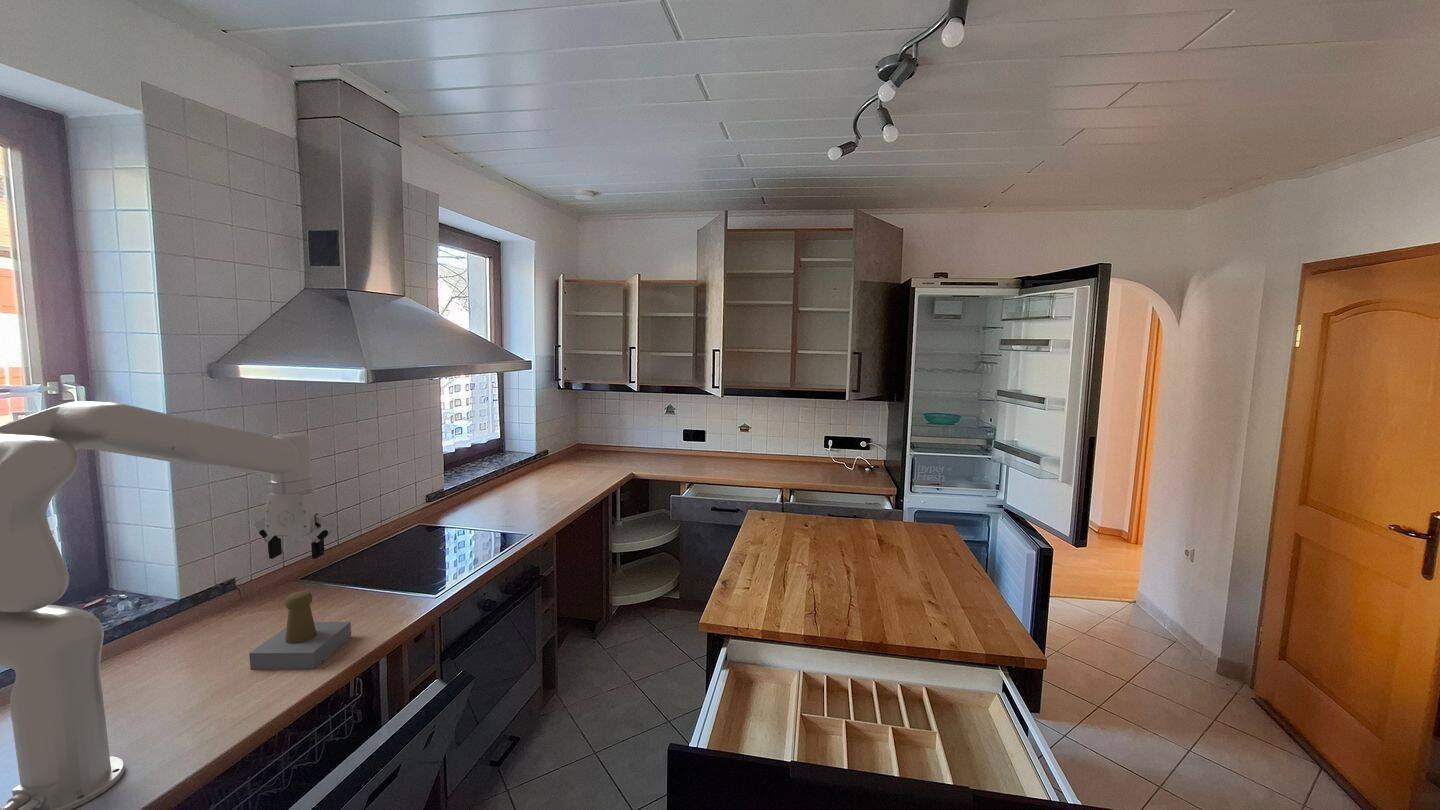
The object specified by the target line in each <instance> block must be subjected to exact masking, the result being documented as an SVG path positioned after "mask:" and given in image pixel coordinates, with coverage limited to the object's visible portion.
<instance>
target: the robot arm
mask: <svg viewBox="0 0 1440 810" xmlns="http://www.w3.org/2000/svg"><path fill="white" fill-rule="evenodd" d="M78 450H90V451H91V450H92V451H101V452H106V453H114V454H121V455H126V456H132V457H140V458H146V459H151V460H158V461H163V462H168V463H175V464H182V465H183V464H184V465H193V466H211V467H213V466H214V467H215V466H216V467H228V468H229V469H231V470H233V471H236V472H239V473H240V472H241V473H250V474H251V473H253V474H264V475H265V474H266V475H270V480H269V481H267V484H266V485H267V487H268V488H271V492H269V493H268V495H267V498H266V505H265V512H264V513H265V515H264V518H263V519H261V520H259V521H256V522H255V523H254V527H255V528H256V529H257V531H258V534H259V535H260V536H261V537H262V538H263V539H264V542H265V543H267V550H268V559H269V560H270V559H271V560H272V559H275V558H277V557H279V556H281V555H282V554H283V547H282V539H281V537H306V536H308V537H309V538H310V539H311V540H312V541H313V542H311V558H312V560H316V559H318V558H319V557H321V556H324V554H325V539H326V538H327V537H328V536H329V535H330V534H331V532H332V530H333V528H334V526H335V522H334V520H331V519H329V518H327V517H325V516H322V515H321V514H322V513H321V506H320V501H319V498H318V494H317V492H316V489H313V485H314V484H313V471H312V456H311V454H312V453H311V452H312V451H311V440H310V437H309V436H308V434H306V433H302V432H289V433H288V432H287V433H278V434H275V435H272V436H270V435H266V434H262V433H257V432H251V431H246V430H243V429H236V428H232V427H227V426H223V425H220V424H214V423H209V422H205V421H198V420H194V419H189V418H186V417H181V416H177V415H171V414H169V413H164V412H160V411H155V410H152V409H147V408H142V407H138V406H135V405H131V404H130V405H129V404H125V403H118V402H108V401H106V402H105V401H88V400H86V401H85V400H83V401H82V400H79V401H71V402H66V403H62V404H59V405H56V406H52V407H50V408H47V409H43V410H41V411H38V412H34V413H32V414H29V415H26V416H24V417H21V418H18V419H15V420H13V421H9V422H7V423H4V424H0V667H5V668H7V669H13V670H14V671H15V680H14V683H13V686H12V689H11V691H10V697H9V710H10V719H11V723H12V731H13V739H14V746H15V754H16V763H17V768H18V776H19V783H20V784H18V785H17V786H16V787H14V788H13V789H11V793H12V797H10V798H9V799H8V800H7V802H6V804H4V805H3V806H2V807H0V810H73V809H76V808H77V807H80V806H82V805H85V804H86V803H88V802H90V801H92V800H93V799H95V798H97V797H98V796H100V795H101V794H103V793H105V792H106V791H107V790H109V789H110V788H111V787H112V786H114V785H115V784H116V783H117V782H118V781H119V780H120V778H122V776H123V774H124V772H125V769H126V768H125V767H126V766H125V761H124V760H123V759H122V758H121V757H118V756H113V755H110V746H109V739H108V730H107V728H108V727H107V722H106V721H107V720H106V719H107V718H106V711H105V710H106V709H105V702H104V693H103V692H104V691H103V686H102V677H101V676H102V675H101V656H102V649H103V643H104V637H105V634H104V633H105V632H104V626H103V624H102V622H101V621H100V619H99V618H98V617H97V616H96V615H94V614H92V613H90V612H89V611H86V610H84V609H80V608H76V607H71V606H65V605H64V606H63V605H58V604H57V605H56V604H53V603H56V602H57V601H58V600H59V599H60V598H62V596H63V595H64V594H65V592H66V591H67V589H68V587H69V583H70V574H69V571H68V568H67V565H66V563H65V560H64V559H63V556H62V553H61V552H60V550H59V547H58V545H57V542H56V540H55V537H54V535H53V533H52V531H51V527H50V523H49V520H48V509H49V505H50V502H51V501H52V499H53V498H54V496H56V493H57V492H59V490H60V489H61V488H62V487H63V486H64V485H65V484H67V482H68V481H69V480H70V479H71V478H72V477H74V475H75V473H76V471H77V469H78V466H79V462H80V459H79V454H78ZM322 526H323V530H322V529H321V528H322Z"/></svg>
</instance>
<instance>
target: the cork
mask: <svg viewBox="0 0 1440 810" xmlns="http://www.w3.org/2000/svg"><path fill="white" fill-rule="evenodd" d="M312 602H313V594H312V593H311V591H307V590H301V591H295V592H292V593H290V594H289V595H287V596H286V598H285V600H284V605H285V608H286V609H287V610H288V611H287V619H286V621H287V622H286V627H287V629H286V639H285V641H286V643H289V644H296V643H301V642H305V641H307V640H310V639H312V638H313V637H315V636H316V634H317V633H316V629H315V624H314V622H315V620H314V617H313V613H312V609H311V604H312Z"/></svg>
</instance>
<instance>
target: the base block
mask: <svg viewBox="0 0 1440 810" xmlns="http://www.w3.org/2000/svg"><path fill="white" fill-rule="evenodd" d="M314 624H315V629H316V633H317V634H316V636H315V637H313V638H312V639H310V640H307V641H305V642H301V643H296V644H289V643H286V641H285V639H286V629H287V626H286V627H284V628H283V629H281V630H280V631H279V632H277V633H276V634H274V635H273V636H271V637H270V638H268V639H267V640H266V641H264V642H262V644H260V645H259V646H257V647H256V648H255V649H253V650H252V651H250V652H249V653H248V654H249V655H248V656H249V657H248V658H249V665H250V668H249V669H250V671H251V670H252V671H253V670H254V671H256V670H257V671H258V670H260V671H261V670H263V671H264V670H314V668H315V667H316V666H317V665H318V664H319V663H320V662H322V661H323V660H324V659H325V658H326V657H327V658H328V657H330V656H331V655H332V654H333V653H334V652H335V651H337V650H338V649H339V648H340V647H341V646H342V645H344V644H345V643H346V642H347V641H348V640H349V639H350V638H351V637H352V626H351V625H352V622H351V621H314ZM350 636H351V637H350ZM349 637H350V638H349ZM348 638H349V639H348ZM347 639H348V640H347ZM346 640H347V641H346ZM345 641H346V642H345ZM344 642H345V643H344ZM339 646H340V647H339ZM338 647H339V648H338ZM337 648H338V649H337ZM333 651H334V652H333ZM332 652H333V653H332ZM331 653H332V654H331ZM330 654H331V655H330ZM329 655H330V656H329ZM327 658H326V659H327ZM326 659H325V660H326ZM325 660H324V661H325ZM324 661H323V662H324ZM323 662H322V663H323ZM320 664H321V663H320ZM320 664H319V665H320ZM319 665H318V666H319ZM318 666H317V667H318ZM317 667H316V668H317ZM316 668H315V669H316Z"/></svg>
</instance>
